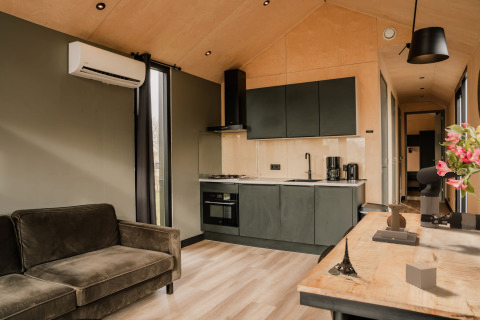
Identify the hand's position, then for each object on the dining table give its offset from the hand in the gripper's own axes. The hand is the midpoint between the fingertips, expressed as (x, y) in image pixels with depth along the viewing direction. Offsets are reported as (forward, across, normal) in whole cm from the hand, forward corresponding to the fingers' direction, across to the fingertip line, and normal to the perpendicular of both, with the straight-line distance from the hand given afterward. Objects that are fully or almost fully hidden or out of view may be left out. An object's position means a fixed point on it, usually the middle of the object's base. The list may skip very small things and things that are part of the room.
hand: (420, 217), depth 157 cm
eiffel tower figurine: (+21, +59, +12) cm, 64 cm away
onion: (+12, -18, +12) cm, 24 cm away
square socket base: (+11, 0, +11) cm, 16 cm away
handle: (+11, 0, +10) cm, 15 cm away
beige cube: (-2, +59, +12) cm, 60 cm away
